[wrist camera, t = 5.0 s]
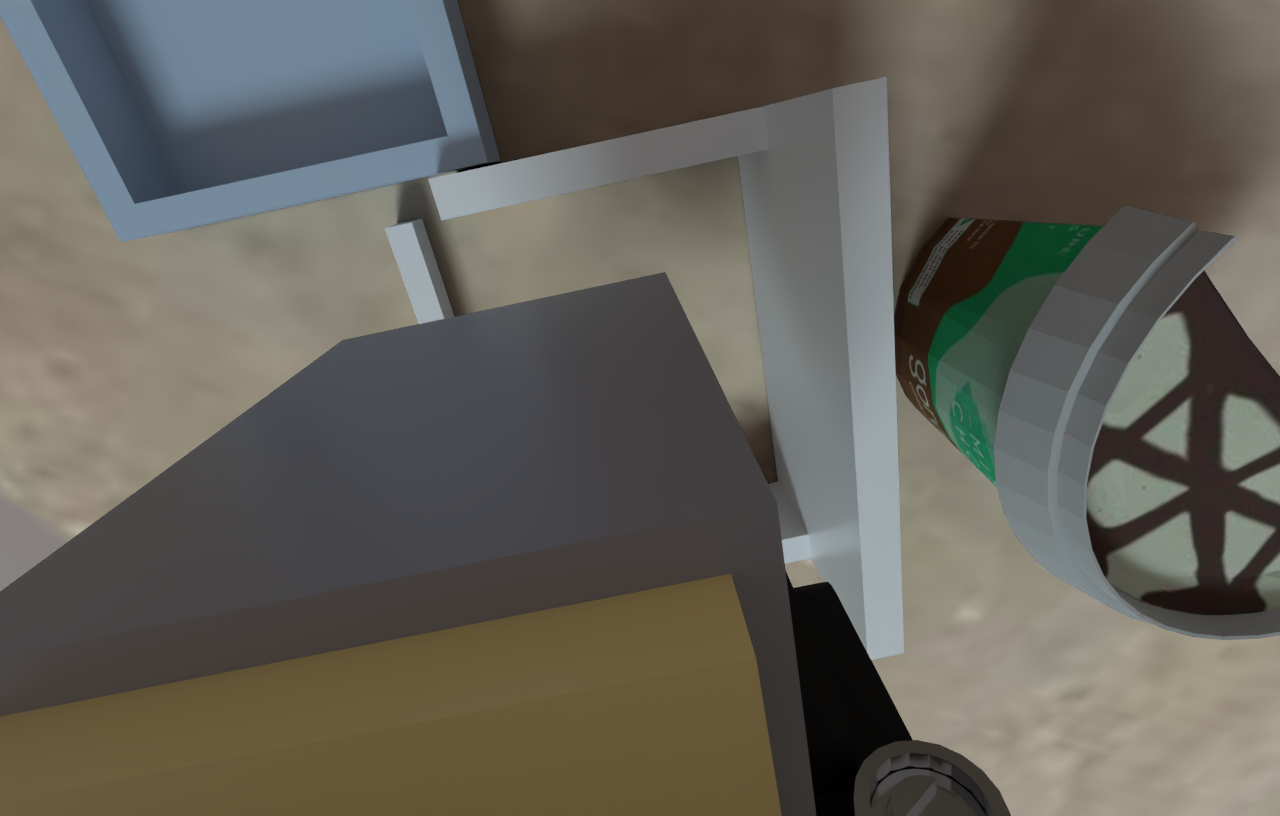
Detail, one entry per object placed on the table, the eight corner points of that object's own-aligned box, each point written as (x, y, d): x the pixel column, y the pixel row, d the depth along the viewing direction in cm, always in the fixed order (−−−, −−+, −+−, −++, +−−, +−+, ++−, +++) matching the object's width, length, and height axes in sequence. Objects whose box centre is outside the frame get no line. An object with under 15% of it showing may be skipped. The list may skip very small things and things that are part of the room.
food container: (783, 325, 21) (937, 461, 12) (921, 185, 19) (1222, 214, 10) (981, 517, 25) (1214, 731, 16) (1110, 412, 23) (1449, 580, 14)
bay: (765, 107, 18) (886, 76, 11) (805, 497, 24) (903, 652, 16) (384, 190, 18) (247, 215, 11) (513, 560, 24) (481, 743, 16)
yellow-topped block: (664, 272, 9) (812, 578, 3) (748, 730, 13) (887, 1296, 7) (342, 340, 9) (-269, 786, 3) (521, 772, 13) (443, 1367, 7)
